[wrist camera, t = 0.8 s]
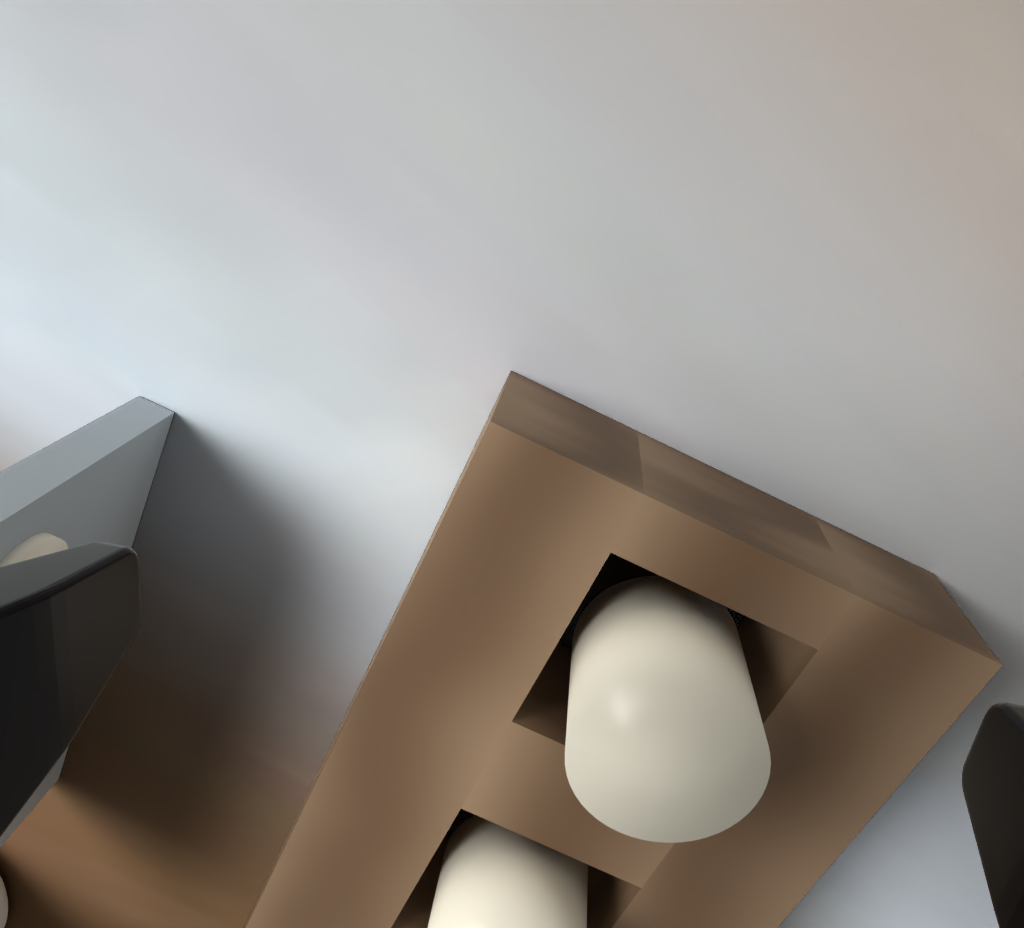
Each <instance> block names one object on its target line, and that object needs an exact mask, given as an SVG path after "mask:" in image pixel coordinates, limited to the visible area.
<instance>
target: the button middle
mask: <svg viewBox="0 0 1024 928" xmlns="http://www.w3.org/2000/svg"><path fill="white" fill-rule="evenodd" d="M587 895H588V864H586V863H583V862H581V861H579V860H576V859H574V858H572V857H570V856H567V855H565V854H563V853H561V852H558V851H556V850H554V849H552V848H549V847H547V846H545V845H543V844H540V843H538V842H536V841H533V840H531V839H529V838H527V837H524V836H522V835H520V834H518V833H515V832H513V831H511V830H509V829H506V828H504V827H502V826H500V825H497V824H495V823H493V822H490V821H488V820H486V819H484V818H481V817H479V816H477V815H475V816H473V817H471V818H469V819H468V820H466V821H465V822H463V823H462V824H461V825H459V826H458V827H457V829H456V830H455V831H454V832H453V833H452V835H451V836H450V838H449V840H448V842H447V845H446V848H445V852H444V857H443V861H442V866H441V870H440V875H439V879H438V883H437V888H436V892H435V897H434V901H433V906H432V910H431V914H430V919H429V923H428V928H587Z"/></svg>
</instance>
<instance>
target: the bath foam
mask: <svg viewBox="0 0 1024 928" xmlns="http://www.w3.org/2000/svg"><path fill="white" fill-rule="evenodd" d="M7 916H8V897H7V892H6V888H5V885H4V883H3V880H2V878H1V876H0V928H4V927H5V924H6V921H7Z"/></svg>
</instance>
